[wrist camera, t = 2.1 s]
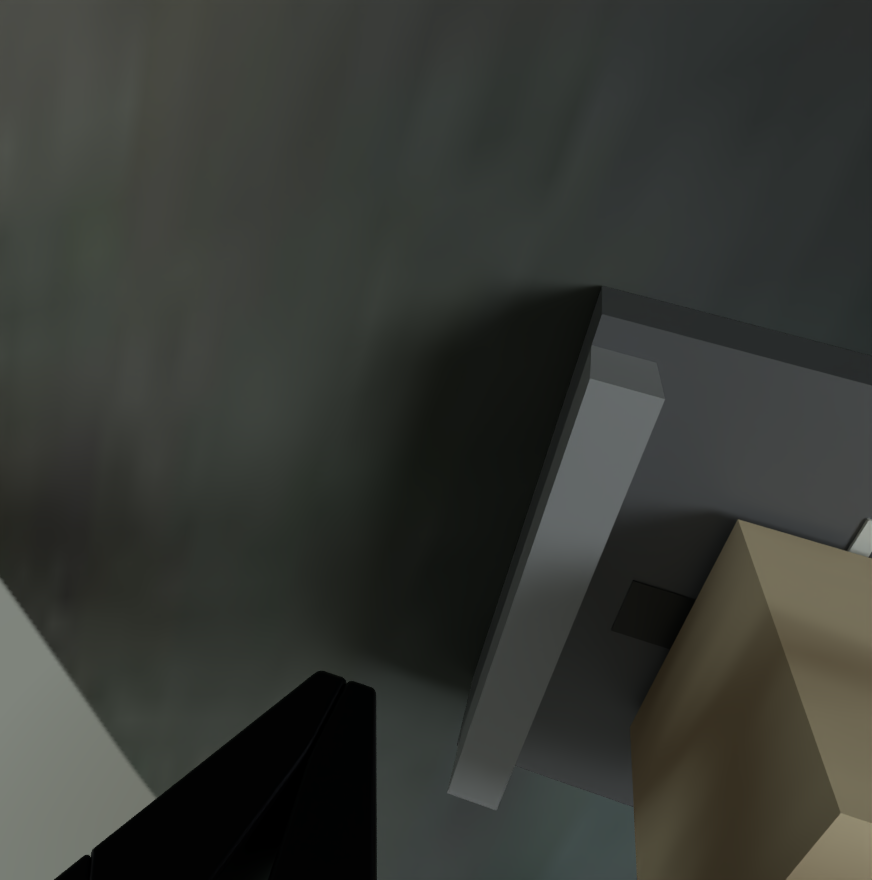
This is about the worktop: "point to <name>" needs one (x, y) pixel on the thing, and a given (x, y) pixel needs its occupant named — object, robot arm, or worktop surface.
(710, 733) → the fader knob
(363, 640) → the worktop surface
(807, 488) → the fader console
